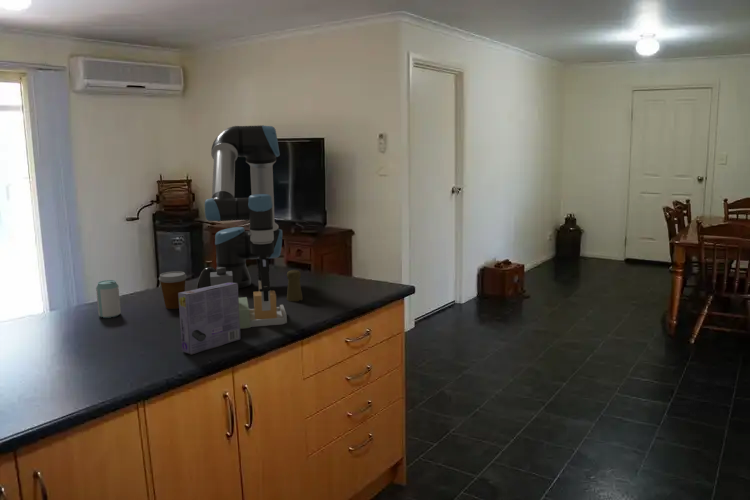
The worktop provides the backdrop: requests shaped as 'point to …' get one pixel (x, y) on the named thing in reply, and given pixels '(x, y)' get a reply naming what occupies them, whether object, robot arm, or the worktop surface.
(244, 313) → the pale green boxy piece
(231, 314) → the cake pan box
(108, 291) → the can
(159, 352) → the worktop surface
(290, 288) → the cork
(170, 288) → the disposable coffee cup
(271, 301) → the cardboard box
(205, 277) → the pump dispenser
